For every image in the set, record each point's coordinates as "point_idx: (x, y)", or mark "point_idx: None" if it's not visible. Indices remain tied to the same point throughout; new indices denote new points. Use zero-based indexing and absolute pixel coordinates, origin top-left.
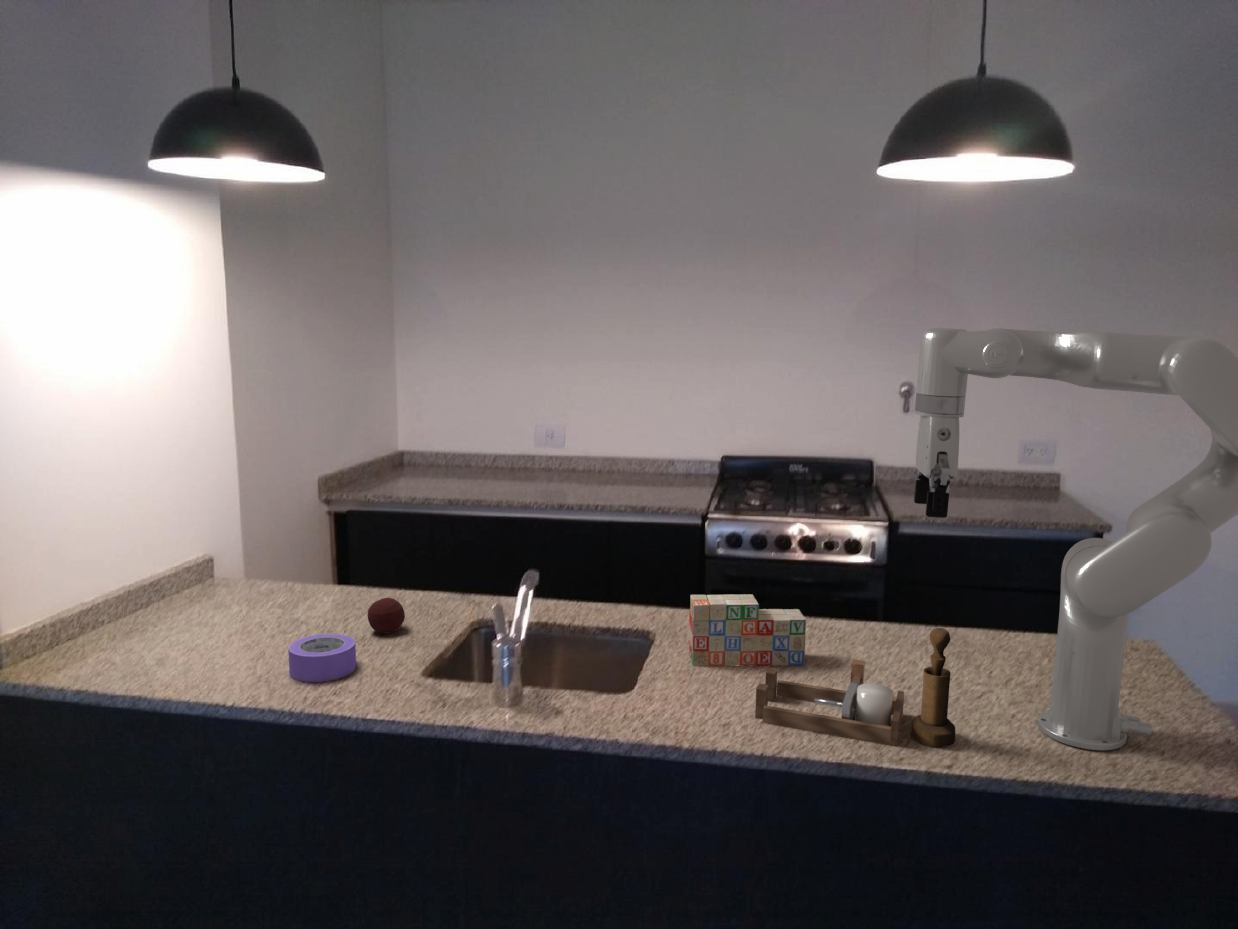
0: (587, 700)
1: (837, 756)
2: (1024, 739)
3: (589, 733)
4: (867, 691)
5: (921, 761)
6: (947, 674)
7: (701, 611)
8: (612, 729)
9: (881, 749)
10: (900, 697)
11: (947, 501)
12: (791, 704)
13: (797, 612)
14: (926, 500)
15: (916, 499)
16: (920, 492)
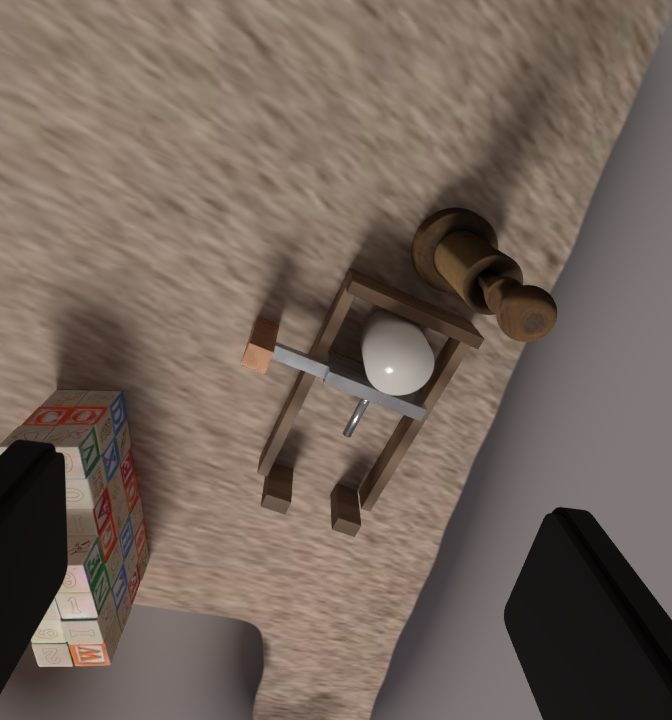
0: (289, 673)
1: (487, 418)
2: (481, 46)
3: (384, 669)
4: (403, 380)
5: None
6: (503, 262)
7: (112, 641)
8: (375, 650)
9: (477, 349)
10: (381, 299)
11: (668, 628)
12: (303, 444)
13: None
14: (50, 521)
15: (51, 594)
16: (13, 635)
